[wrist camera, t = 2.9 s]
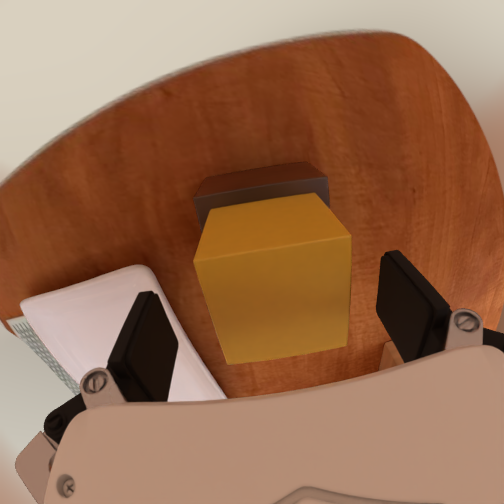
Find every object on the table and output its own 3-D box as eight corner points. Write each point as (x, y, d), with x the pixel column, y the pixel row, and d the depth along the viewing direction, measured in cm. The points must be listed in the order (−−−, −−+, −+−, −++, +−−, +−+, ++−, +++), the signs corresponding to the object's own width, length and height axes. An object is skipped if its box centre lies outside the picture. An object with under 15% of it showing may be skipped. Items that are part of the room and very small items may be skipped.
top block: (315, 191, 14) (352, 235, 9) (321, 280, 16) (347, 346, 12) (209, 208, 14) (192, 260, 9) (231, 295, 17) (227, 365, 12)
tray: (160, 242, 20) (146, 265, 17) (262, 431, 34) (263, 450, 31) (31, 285, 22) (14, 304, 19) (161, 437, 36) (159, 454, 33)
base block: (307, 161, 18) (327, 176, 14) (315, 251, 21) (333, 288, 17) (205, 177, 18) (192, 197, 14) (225, 266, 22) (221, 306, 17)
